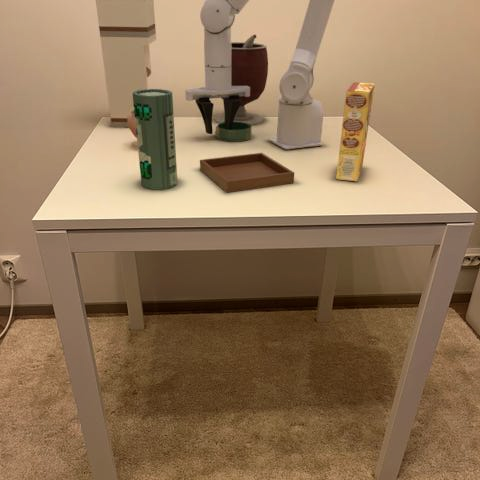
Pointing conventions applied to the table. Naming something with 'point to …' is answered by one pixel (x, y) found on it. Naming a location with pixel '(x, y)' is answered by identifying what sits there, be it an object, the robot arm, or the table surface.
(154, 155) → the can
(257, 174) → the tray
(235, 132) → the green round bowl
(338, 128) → the table surface
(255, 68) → the mate gourd
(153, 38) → the striped cream pillar
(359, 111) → the candy box
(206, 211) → the table surface
